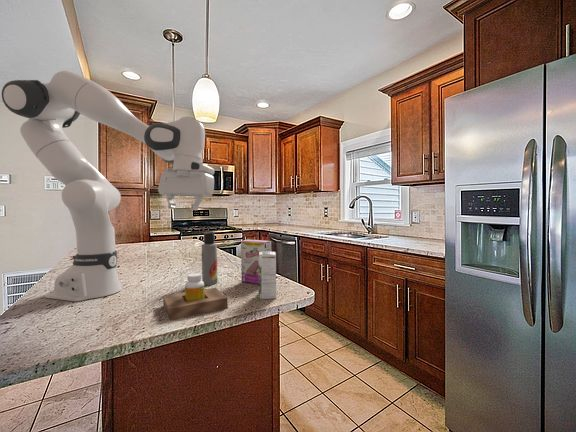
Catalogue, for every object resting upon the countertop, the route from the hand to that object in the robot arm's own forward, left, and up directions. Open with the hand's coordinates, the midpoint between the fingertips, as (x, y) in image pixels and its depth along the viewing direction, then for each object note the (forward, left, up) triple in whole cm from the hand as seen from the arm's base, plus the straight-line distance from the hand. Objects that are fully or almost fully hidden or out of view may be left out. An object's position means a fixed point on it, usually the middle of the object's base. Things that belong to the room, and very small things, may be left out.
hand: (182, 209), depth 91 cm
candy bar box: (+20, +19, -29) cm, 40 cm away
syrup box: (+27, +3, -29) cm, 40 cm away
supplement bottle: (+7, -8, -29) cm, 31 cm away
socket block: (+7, -8, -29) cm, 31 cm away
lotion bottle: (+2, +17, -29) cm, 34 cm away
